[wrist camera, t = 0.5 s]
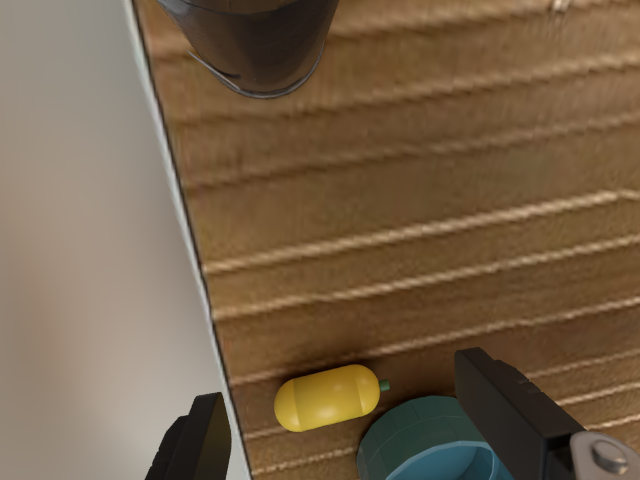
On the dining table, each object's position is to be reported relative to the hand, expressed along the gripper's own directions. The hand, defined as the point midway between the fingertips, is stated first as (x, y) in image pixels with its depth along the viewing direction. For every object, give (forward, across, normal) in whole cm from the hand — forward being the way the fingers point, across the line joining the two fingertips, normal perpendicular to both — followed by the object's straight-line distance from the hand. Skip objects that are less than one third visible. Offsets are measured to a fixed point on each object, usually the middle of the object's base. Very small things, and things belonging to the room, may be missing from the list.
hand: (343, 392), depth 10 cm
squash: (+18, 0, +14) cm, 22 cm away
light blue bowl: (+18, -10, +25) cm, 32 cm away
